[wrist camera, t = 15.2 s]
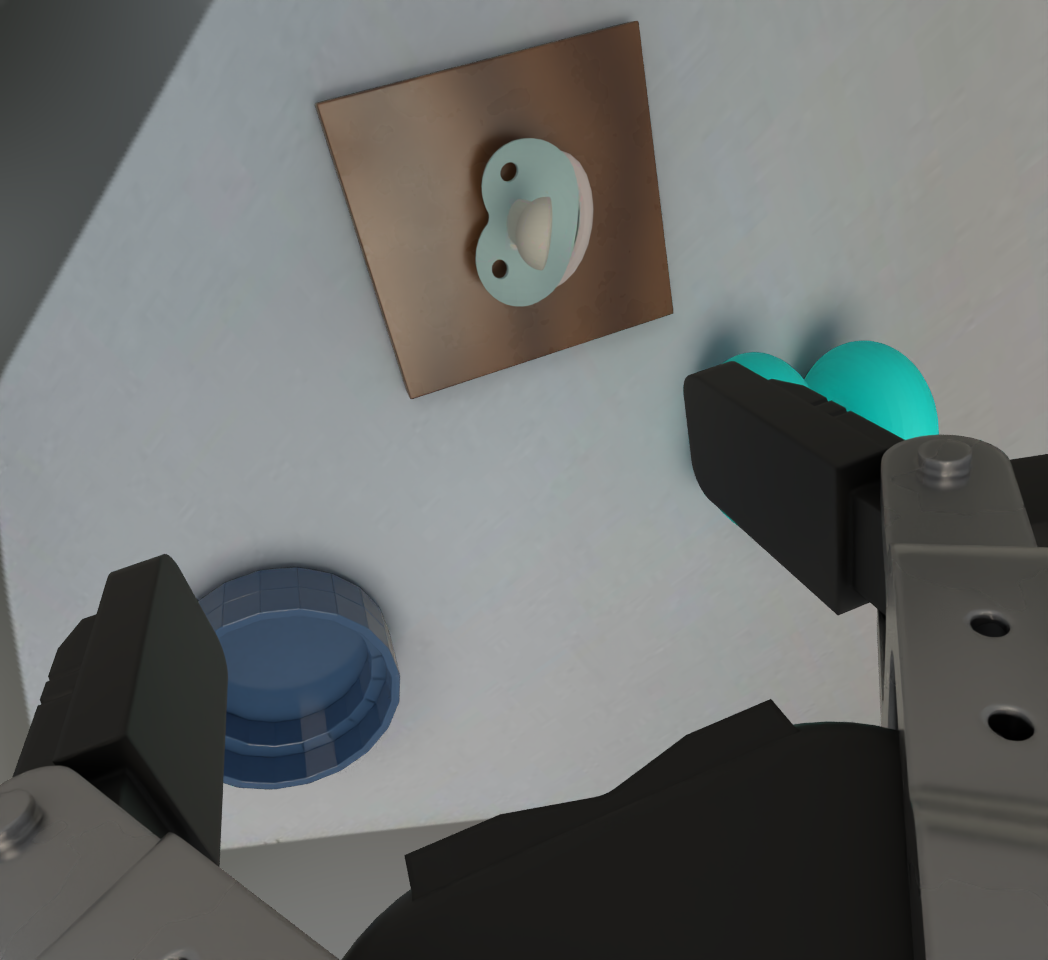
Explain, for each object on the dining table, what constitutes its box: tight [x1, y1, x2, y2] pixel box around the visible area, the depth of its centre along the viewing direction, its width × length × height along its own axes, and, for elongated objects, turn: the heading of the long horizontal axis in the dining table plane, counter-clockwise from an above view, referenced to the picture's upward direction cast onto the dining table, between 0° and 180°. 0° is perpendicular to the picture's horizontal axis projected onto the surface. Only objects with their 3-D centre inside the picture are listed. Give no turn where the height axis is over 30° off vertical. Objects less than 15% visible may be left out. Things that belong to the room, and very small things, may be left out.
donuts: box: [722, 341, 939, 525], centre depth 43 cm, size 10×10×10 cm
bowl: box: [198, 567, 400, 789], centre depth 43 cm, size 12×12×4 cm
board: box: [315, 21, 673, 399], centre depth 37 cm, size 15×14×1 cm
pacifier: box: [475, 138, 593, 306], centre depth 35 cm, size 7×6×6 cm
